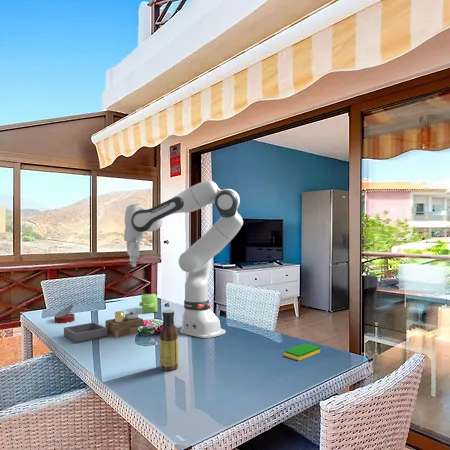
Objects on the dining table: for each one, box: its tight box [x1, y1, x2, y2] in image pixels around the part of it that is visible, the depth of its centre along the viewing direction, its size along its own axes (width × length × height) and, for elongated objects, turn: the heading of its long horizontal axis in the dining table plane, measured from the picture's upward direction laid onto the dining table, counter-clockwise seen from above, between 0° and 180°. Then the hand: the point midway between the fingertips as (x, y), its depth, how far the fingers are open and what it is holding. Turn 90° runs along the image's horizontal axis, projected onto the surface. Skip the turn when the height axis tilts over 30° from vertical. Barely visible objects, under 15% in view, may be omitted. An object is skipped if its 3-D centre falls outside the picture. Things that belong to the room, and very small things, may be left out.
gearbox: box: [139, 293, 159, 314], centre depth 215 cm, size 18×10×10 cm, turn 17°
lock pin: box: [114, 310, 125, 323], centre depth 168 cm, size 4×4×10 cm
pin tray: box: [63, 321, 108, 345], centre depth 163 cm, size 14×14×4 cm
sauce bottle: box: [159, 309, 179, 371], centre depth 126 cm, size 6×6×20 cm
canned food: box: [53, 304, 76, 324], centre depth 191 cm, size 11×10×10 cm
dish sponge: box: [283, 342, 321, 362], centre depth 140 cm, size 7×14×2 cm, turn 132°
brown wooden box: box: [104, 311, 144, 339], centre depth 169 cm, size 10×14×9 cm
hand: (132, 265), depth 177 cm, fingers open, 8 cm apart
